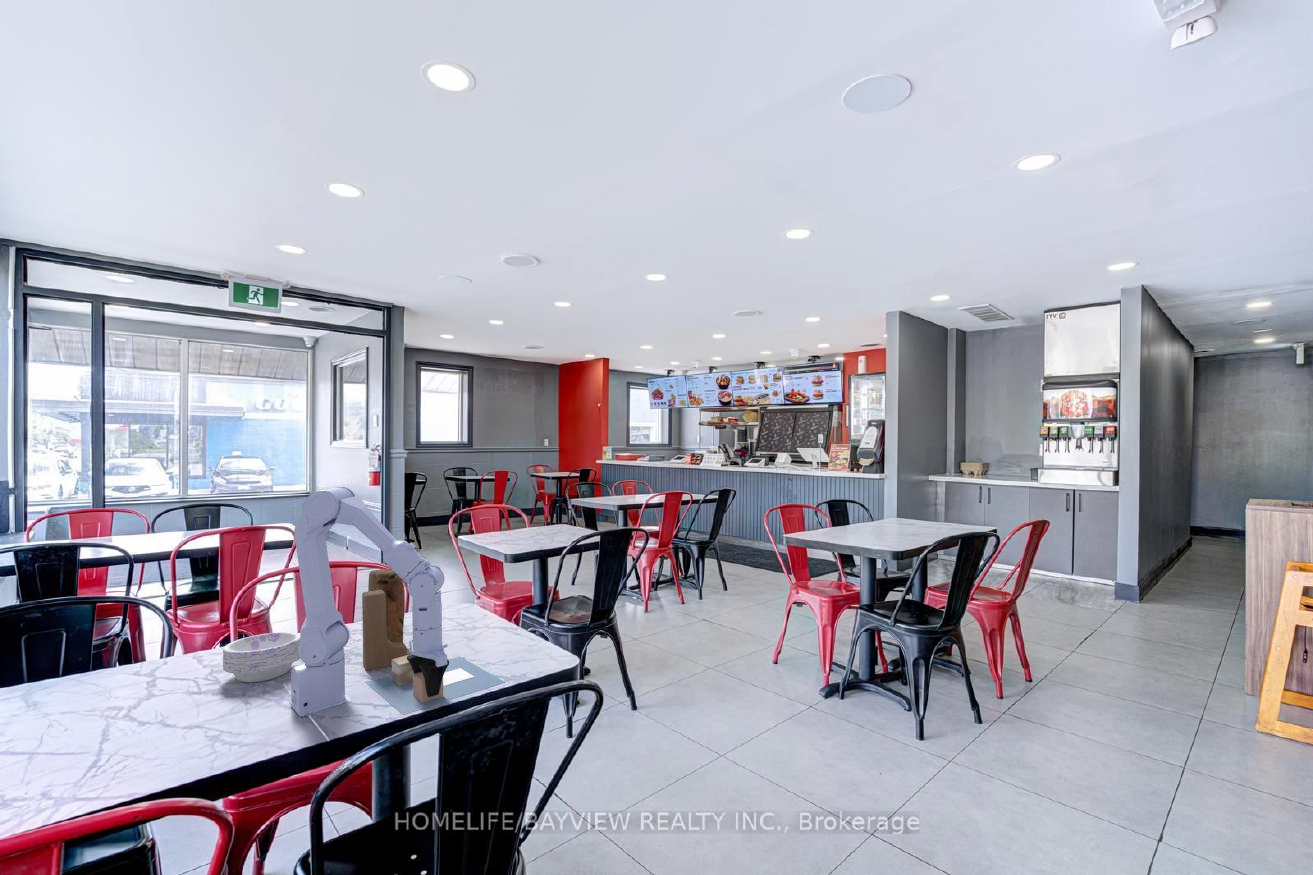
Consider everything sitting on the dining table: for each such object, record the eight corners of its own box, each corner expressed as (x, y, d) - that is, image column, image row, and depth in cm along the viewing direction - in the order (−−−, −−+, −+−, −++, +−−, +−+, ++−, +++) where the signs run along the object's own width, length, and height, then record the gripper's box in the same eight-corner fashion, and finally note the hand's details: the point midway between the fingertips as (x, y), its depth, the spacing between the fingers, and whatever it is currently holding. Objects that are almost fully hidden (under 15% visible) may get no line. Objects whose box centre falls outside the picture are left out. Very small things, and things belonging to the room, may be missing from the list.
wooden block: (403, 659, 149) (402, 586, 148) (407, 665, 145) (406, 590, 145) (362, 668, 143) (361, 592, 143) (366, 674, 140) (365, 596, 140)
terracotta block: (421, 702, 123) (421, 680, 123) (413, 696, 126) (412, 674, 126) (443, 696, 126) (443, 674, 126) (434, 689, 129) (434, 668, 129)
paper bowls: (283, 658, 151) (282, 626, 151) (314, 671, 142) (313, 637, 142) (211, 679, 138) (210, 644, 138) (240, 694, 129) (240, 657, 129)
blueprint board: (403, 717, 117) (403, 714, 117) (365, 684, 134) (365, 681, 134) (505, 684, 133) (505, 681, 133) (460, 658, 149) (460, 656, 149)
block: (366, 645, 159) (365, 569, 159) (396, 639, 164) (395, 565, 164) (377, 657, 150) (375, 576, 150) (408, 650, 155) (407, 572, 155)
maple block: (399, 685, 131) (399, 664, 131) (392, 679, 135) (391, 659, 135) (420, 679, 135) (419, 659, 135) (412, 674, 138) (412, 654, 138)
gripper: (461, 629, 123) (462, 696, 123) (431, 614, 134) (432, 676, 134) (427, 637, 118) (427, 707, 119) (399, 621, 129) (400, 685, 129)
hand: (428, 691), depth 126 cm, fingers closed on terracotta block, 4 cm apart
